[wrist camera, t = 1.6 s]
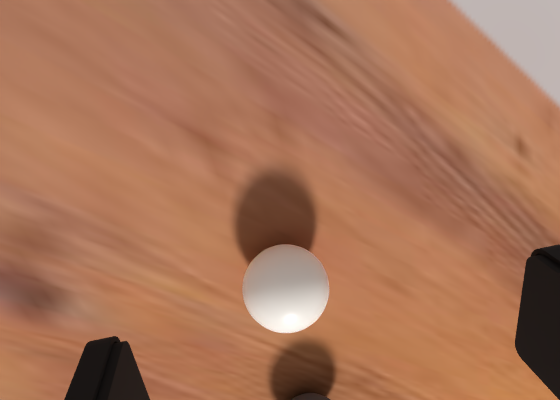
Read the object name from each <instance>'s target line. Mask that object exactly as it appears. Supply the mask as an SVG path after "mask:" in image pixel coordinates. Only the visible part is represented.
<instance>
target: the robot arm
mask: <svg viewBox="0 0 560 400" xmlns="http://www.w3.org/2000/svg"><path fill="white" fill-rule="evenodd" d="M515 347H516V350H517V353H518V354H519V356H520V357H521V359H522V360H523V361H524V362H525V363H526V364H527V365H528V366H529V367H530V369H531V370H532V371H533V372H534V373H535V374H536V375H537V376H538V377H539V378H540V379H541V380H542V382H543V383H544V384H545V385H546V386H547V387H548V388H549V389H550V390H551V391H552V392H553V394H554V395H555V396H556V397H557V398H558V399H559V400H560V245H554V246H549V247H544V248H540V249H536V250H534V251H533V252H532V254H531V257H529V258H528V259H527V262H526V267H525V274H524V281H523V288H522V296H521V303H520V310H519V317H518V324H517V331H516V338H515ZM64 400H150V399H149V396H148V393H147V391H146V388H145V385H144V383H143V380H142V377H141V375H140V372H139V369H138V367H137V364H136V361H135V359H134V356H133V353H132V351H131V348H130V345H129V343H128V342H127V341H123V342H120V340H119V338H118V337H116V336H113V337H109V338H104V339H99V340H94V341H89V342H88V343H87V344H86V346H85V348H84V351H83V353H82V356H81V358H80V361H79V364H78V366H77V369H76V371H75V374H74V376H73V379H72V381H71V384H70V387H69V389H68V392H67V394H66V397H65V399H64Z"/></svg>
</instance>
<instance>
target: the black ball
mask: <svg viewBox="0 0 560 400" xmlns="http://www.w3.org/2000/svg"><path fill="white" fill-rule="evenodd" d="M291 400H330V399H329V398H327V397H325V396H323V395H320V394H316V393H305V394H301V395H298V396H296V397H294V398H293V399H291Z"/></svg>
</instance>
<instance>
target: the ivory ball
mask: <svg viewBox="0 0 560 400" xmlns="http://www.w3.org/2000/svg"><path fill="white" fill-rule="evenodd" d="M242 290H243V298H244V302H245V305H246V307H247V309H248V311H249V313H250V314H251V316H252V317H253V318H254V319H255V320H256V321H257V322H258V323H259V324H261V325H262V326H263V327H265V328H267V329H269V330H272V331H275V332H279V333H293V332H297V331H300V330H303V329H305V328H307V327H308V326H310V325H311V324H313V323H314V322H315V321H316V320H317V319H318V318H319V317H320V315H321V314H322V312H323V311H324V309H325V307H326V304H327V301H328V297H329V281H328V276H327V274H326V271H325V269H324V267H323V265H322V264H321V262H320V261H319V260H318V258H317V257H316V256H314V255H313V254H312V253H311V252H309V251H308V250H306V249H304V248H302V247H299V246H296V245H290V244H281V245H275V246H272V247H269V248H267V249H265V250H263V251H262V252H261V253H259V254H258V255H257V256H256V257H255V258H254V259H253V260H252V261H251V263H250V264H249V266H248V268H247V270H246V272H245V275H244V279H243V287H242Z"/></svg>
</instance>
